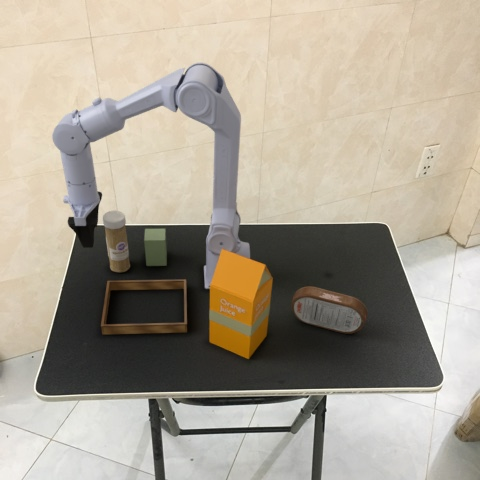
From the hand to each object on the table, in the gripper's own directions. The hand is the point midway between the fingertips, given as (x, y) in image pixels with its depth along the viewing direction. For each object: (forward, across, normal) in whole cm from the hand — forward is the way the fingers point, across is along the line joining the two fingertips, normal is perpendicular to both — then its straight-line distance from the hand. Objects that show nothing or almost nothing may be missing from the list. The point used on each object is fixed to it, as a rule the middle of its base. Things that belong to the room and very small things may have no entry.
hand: (90, 236), depth 117 cm
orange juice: (+9, +24, +30) cm, 39 cm away
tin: (+9, +20, +48) cm, 53 cm away
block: (+8, -2, +13) cm, 16 cm away
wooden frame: (+8, +14, +12) cm, 20 cm away
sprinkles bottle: (+9, 0, +5) cm, 10 cm away
